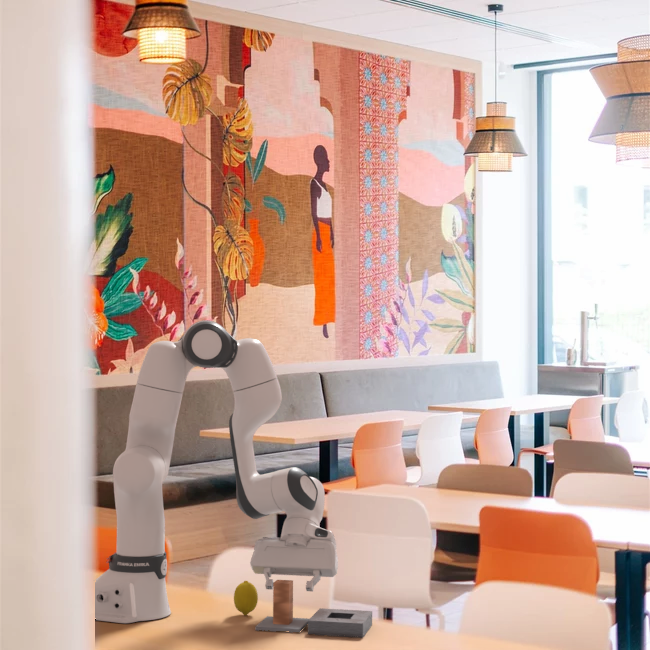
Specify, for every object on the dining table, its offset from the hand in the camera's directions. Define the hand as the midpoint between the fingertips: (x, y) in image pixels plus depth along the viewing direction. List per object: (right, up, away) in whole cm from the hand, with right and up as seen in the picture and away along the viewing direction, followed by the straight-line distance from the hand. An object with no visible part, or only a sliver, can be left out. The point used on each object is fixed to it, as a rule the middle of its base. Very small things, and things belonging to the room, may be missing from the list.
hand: (288, 589), depth 240 cm
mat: (-1, -7, -5) cm, 9 cm away
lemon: (-10, -8, +5) cm, 14 cm away
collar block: (+12, -7, -8) cm, 16 cm away
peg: (-1, -6, -5) cm, 8 cm away
